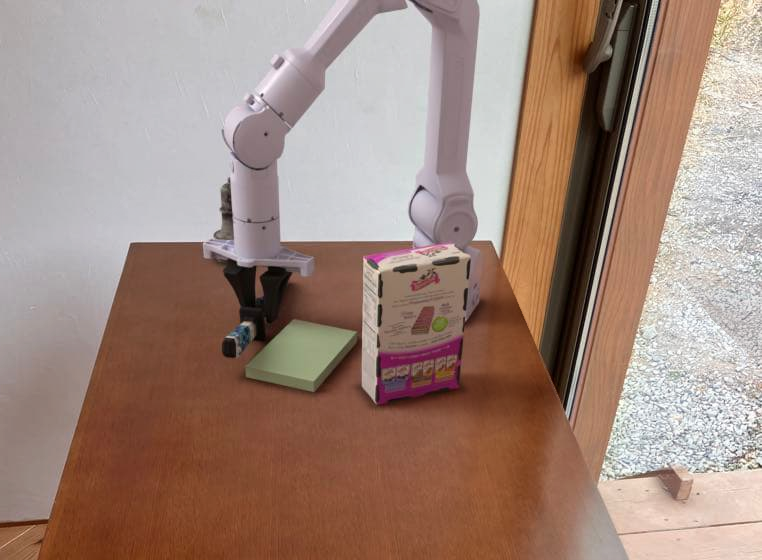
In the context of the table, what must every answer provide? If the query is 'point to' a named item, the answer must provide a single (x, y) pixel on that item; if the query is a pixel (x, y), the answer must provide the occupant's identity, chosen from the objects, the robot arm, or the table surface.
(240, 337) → the knife
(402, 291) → the candy bar box
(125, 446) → the table surface
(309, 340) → the cutting board
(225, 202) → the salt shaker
